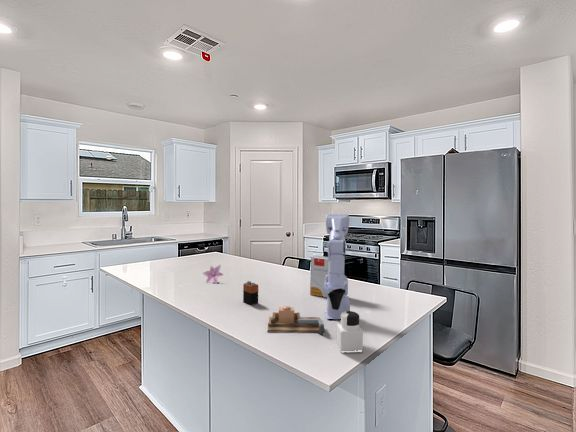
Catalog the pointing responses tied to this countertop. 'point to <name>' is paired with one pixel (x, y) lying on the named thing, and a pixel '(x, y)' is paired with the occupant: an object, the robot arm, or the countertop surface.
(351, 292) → the countertop surface
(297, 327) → the housing
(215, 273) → the lily
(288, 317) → the block with dome
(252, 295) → the battery
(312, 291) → the hard drive box
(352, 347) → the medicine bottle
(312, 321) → the gate
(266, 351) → the countertop surface
